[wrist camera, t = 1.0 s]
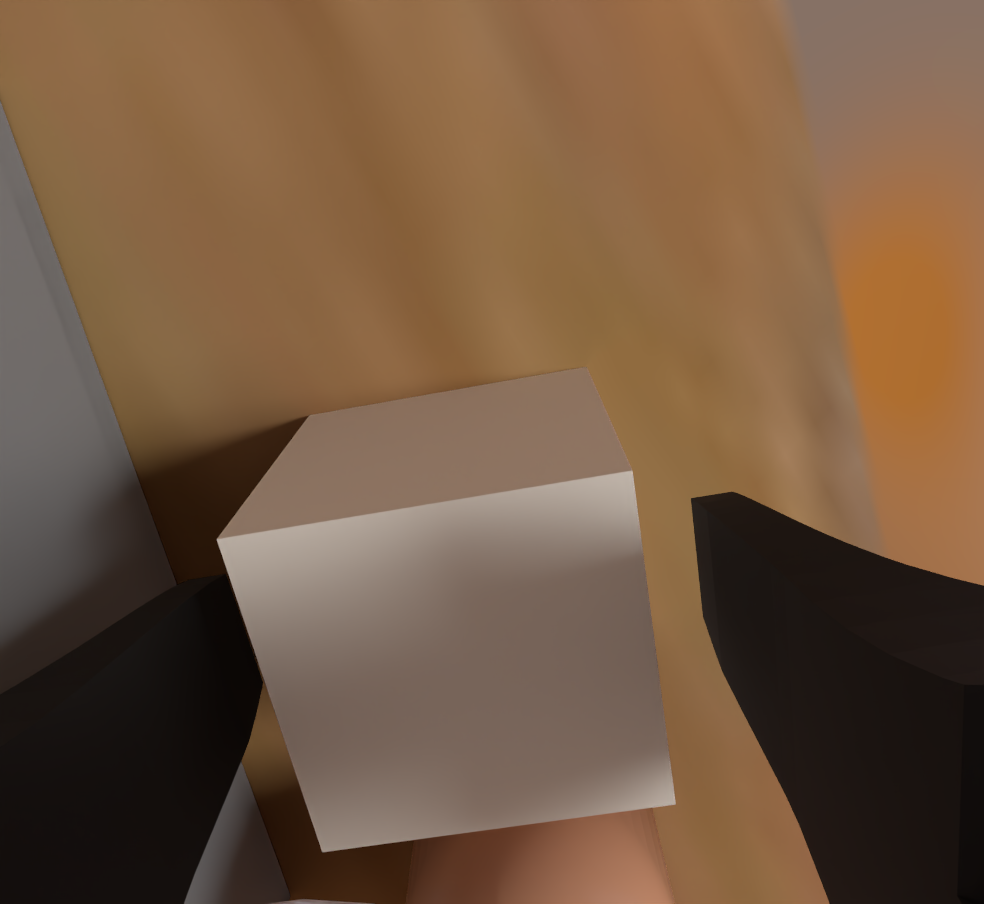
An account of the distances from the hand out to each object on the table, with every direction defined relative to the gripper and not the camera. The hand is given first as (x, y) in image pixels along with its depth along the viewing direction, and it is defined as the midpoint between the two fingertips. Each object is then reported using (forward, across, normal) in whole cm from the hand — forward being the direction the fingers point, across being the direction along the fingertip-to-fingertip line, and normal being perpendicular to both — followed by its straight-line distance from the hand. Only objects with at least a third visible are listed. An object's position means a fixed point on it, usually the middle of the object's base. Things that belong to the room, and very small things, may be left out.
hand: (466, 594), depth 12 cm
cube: (+3, 0, 0) cm, 3 cm away
